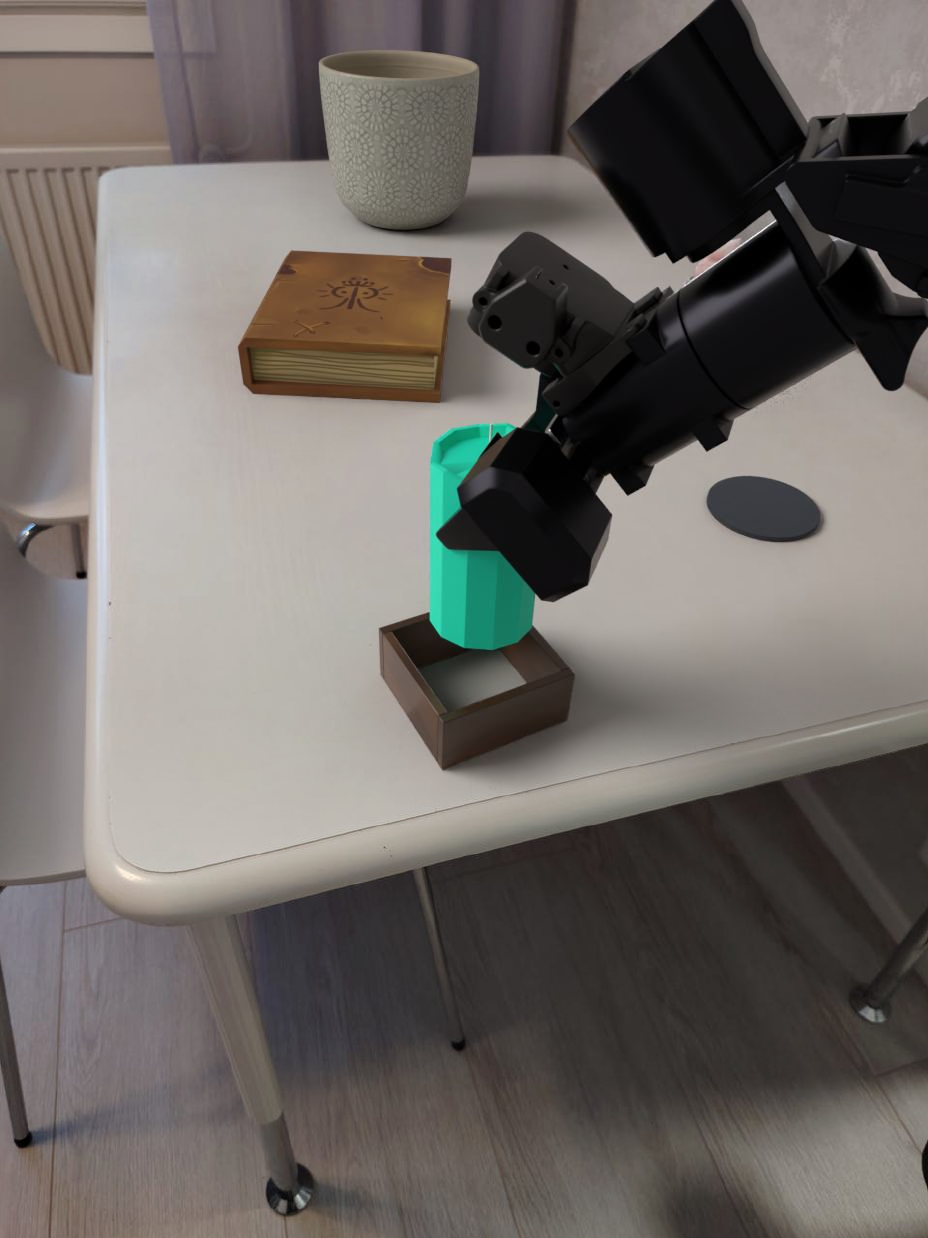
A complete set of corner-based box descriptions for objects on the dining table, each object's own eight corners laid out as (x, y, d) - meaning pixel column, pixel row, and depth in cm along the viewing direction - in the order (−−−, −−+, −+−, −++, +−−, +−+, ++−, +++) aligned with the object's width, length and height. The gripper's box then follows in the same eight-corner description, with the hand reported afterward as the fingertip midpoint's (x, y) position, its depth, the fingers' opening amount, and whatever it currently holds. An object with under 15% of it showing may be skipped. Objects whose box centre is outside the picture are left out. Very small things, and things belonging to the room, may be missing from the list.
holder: (567, 720, 52) (575, 673, 50) (441, 770, 49) (443, 723, 47) (497, 634, 58) (501, 588, 55) (380, 674, 55) (378, 627, 52)
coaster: (843, 524, 69) (844, 520, 69) (759, 553, 66) (760, 549, 66) (764, 470, 75) (765, 466, 75) (683, 494, 72) (684, 490, 72)
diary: (289, 301, 100) (284, 249, 96) (450, 309, 100) (451, 257, 96) (244, 393, 83) (236, 334, 79) (439, 402, 83) (440, 344, 79)
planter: (298, 221, 122) (284, 63, 109) (384, 188, 135) (381, 44, 123) (421, 252, 114) (421, 85, 101) (499, 214, 128) (508, 63, 115)
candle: (450, 574, 52) (454, 388, 45) (546, 596, 51) (567, 408, 43) (413, 634, 48) (410, 440, 40) (516, 661, 46) (534, 464, 39)
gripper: (651, 129, 40) (430, 324, 50) (525, 253, 26) (259, 484, 37) (782, 325, 43) (549, 471, 53) (727, 523, 30) (431, 668, 40)
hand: (461, 512), depth 45 cm, fingers closed on candle, 5 cm apart
